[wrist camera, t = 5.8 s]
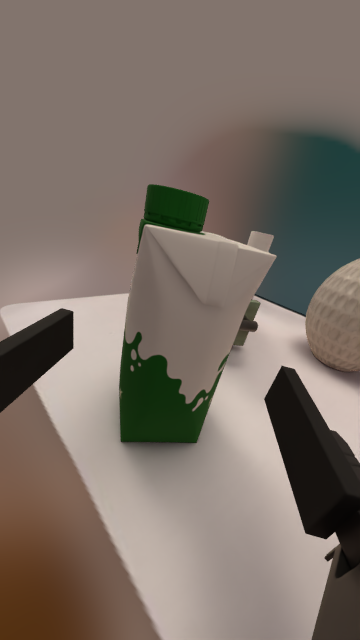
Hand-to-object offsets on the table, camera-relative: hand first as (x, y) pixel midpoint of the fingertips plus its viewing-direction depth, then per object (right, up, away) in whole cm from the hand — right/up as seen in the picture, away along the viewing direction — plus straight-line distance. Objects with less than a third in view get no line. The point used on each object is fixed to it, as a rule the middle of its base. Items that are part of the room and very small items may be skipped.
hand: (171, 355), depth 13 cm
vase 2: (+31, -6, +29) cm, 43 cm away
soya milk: (-2, -8, +9) cm, 12 cm away
